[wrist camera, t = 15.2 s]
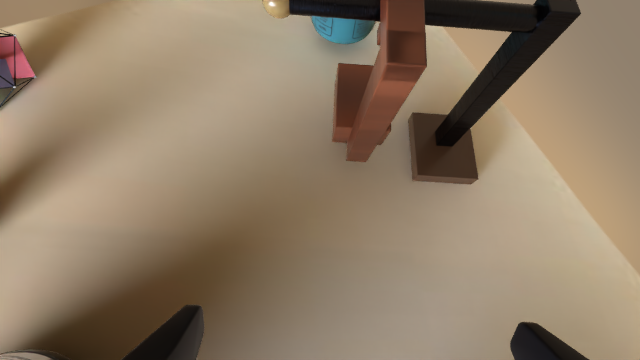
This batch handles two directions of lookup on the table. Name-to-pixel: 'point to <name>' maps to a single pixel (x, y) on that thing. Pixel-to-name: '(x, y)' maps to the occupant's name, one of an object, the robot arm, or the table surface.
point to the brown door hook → (380, 80)
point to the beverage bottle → (342, 29)
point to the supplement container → (32, 355)
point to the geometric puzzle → (12, 63)
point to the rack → (494, 80)
